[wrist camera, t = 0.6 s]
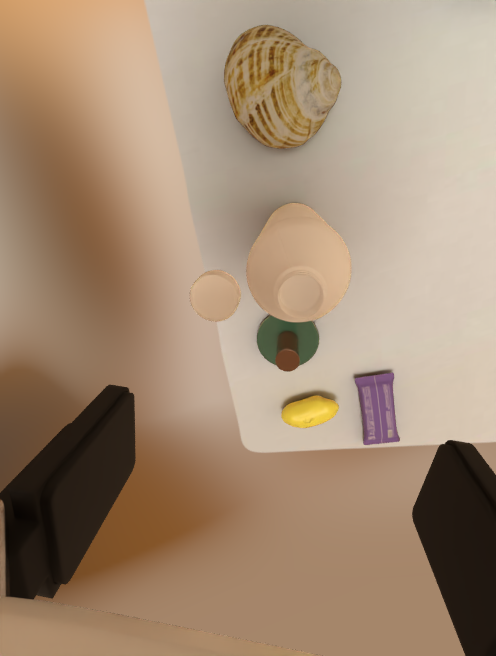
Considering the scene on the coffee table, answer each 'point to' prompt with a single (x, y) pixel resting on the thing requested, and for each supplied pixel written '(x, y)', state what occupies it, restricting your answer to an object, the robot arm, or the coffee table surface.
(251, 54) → the seashell
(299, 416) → the lemon
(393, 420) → the snack package
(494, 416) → the coffee table surface
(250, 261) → the water bottle
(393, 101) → the coffee table surface
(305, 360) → the lid
